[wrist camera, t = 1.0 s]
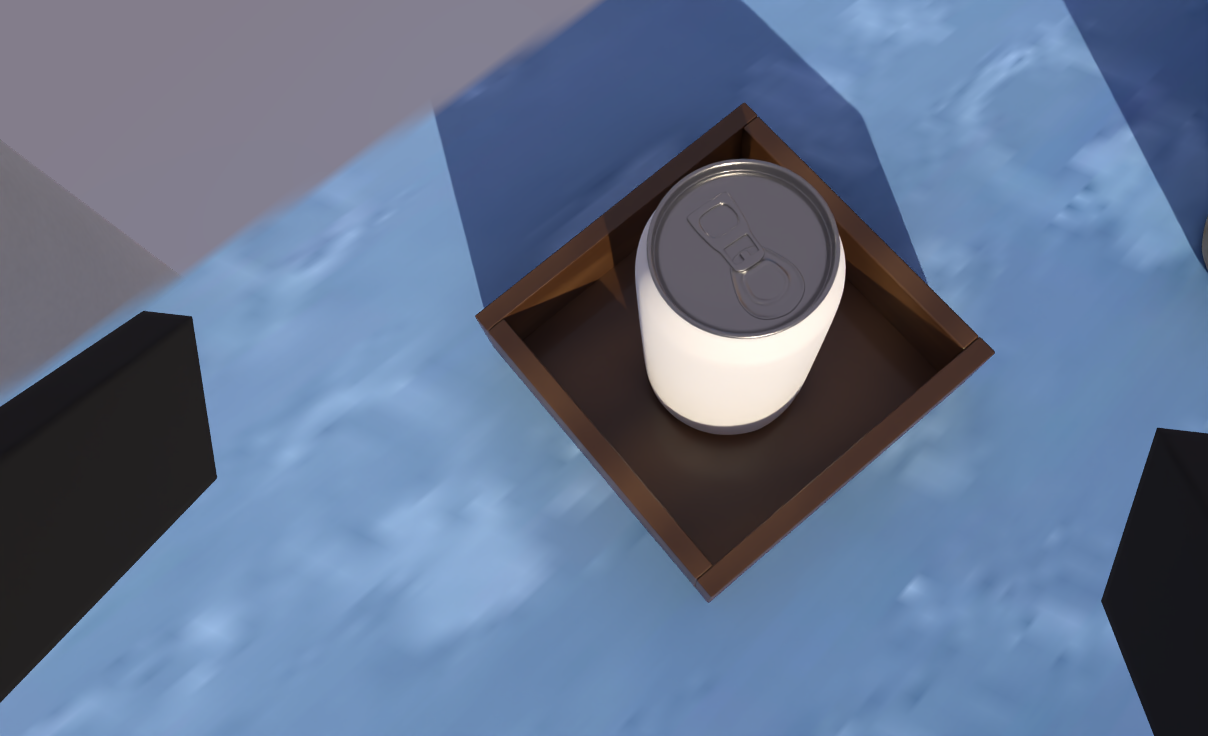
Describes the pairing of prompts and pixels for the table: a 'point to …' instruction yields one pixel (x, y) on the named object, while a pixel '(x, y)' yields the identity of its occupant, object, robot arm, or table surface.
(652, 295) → the can
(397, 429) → the table surface
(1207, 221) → the flower pot
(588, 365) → the wooden box
